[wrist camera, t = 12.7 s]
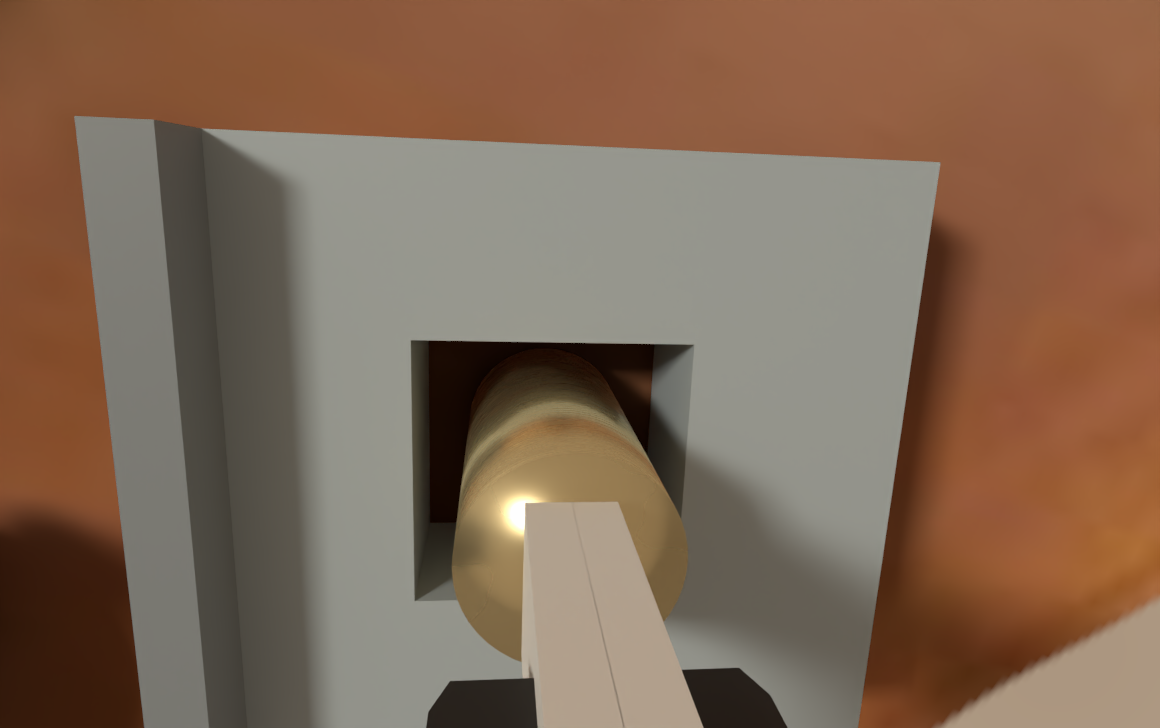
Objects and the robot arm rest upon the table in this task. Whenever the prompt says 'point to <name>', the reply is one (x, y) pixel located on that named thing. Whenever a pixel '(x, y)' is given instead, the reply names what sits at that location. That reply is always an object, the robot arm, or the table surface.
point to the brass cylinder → (551, 484)
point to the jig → (401, 396)
